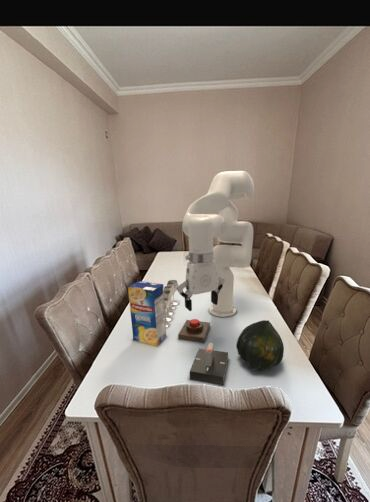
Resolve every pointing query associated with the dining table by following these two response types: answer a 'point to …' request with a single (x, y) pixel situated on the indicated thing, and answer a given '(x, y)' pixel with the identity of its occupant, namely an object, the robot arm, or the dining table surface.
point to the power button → (194, 322)
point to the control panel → (209, 367)
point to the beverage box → (147, 312)
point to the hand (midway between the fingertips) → (201, 306)
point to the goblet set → (169, 298)
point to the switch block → (194, 332)
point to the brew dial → (209, 354)
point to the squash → (260, 346)
